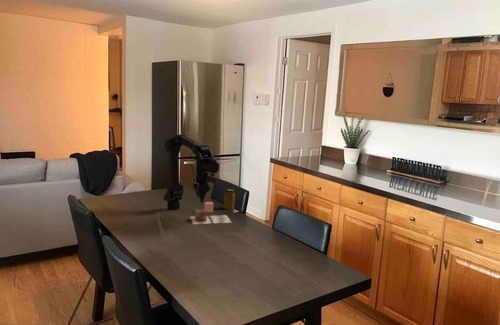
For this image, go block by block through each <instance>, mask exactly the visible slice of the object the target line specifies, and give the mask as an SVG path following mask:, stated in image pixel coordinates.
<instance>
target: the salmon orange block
mask: <svg viewBox="0 0 500 325" xmlns="http://www.w3.org/2000/svg"><path fill="white" fill-rule="evenodd" d="M204 209H205V210H206V212H207V213H214V202H212V201H204Z"/></svg>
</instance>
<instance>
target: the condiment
mask: <svg viewBox="0 0 500 325" xmlns="http://www.w3.org/2000/svg"><path fill="white" fill-rule="evenodd" d="M224 192H225V193H224V195H223V196H224V197H223V198H224V199H223V201H224V202H223V209H225V210H230V211H231V213H237V212H239V210H237V209H235V201H236V195H235V189H232V188H226V189H225V191H224Z"/></svg>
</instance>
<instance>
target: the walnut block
mask: <svg viewBox="0 0 500 325" xmlns="http://www.w3.org/2000/svg"><path fill="white" fill-rule="evenodd" d="M194 210H195V211H194V216H195V220H196V222H201V221H206V217H207V215H208V214H207V212H206V210H205V208H199V209H198V208H197V209H194Z"/></svg>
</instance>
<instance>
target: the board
mask: <svg viewBox="0 0 500 325" xmlns="http://www.w3.org/2000/svg"><path fill="white" fill-rule="evenodd" d="M189 218H190V220H191V223H192V225H206V224H229V223H230V224H232V223H233V221H231V219H230V218H229V217H228V216H227V214H226V215H225V214H224V215H223V214H222V215H208V216H207V217H206V221H201V222H196V220H195V215H194V216H193V215H192V216H189Z"/></svg>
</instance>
